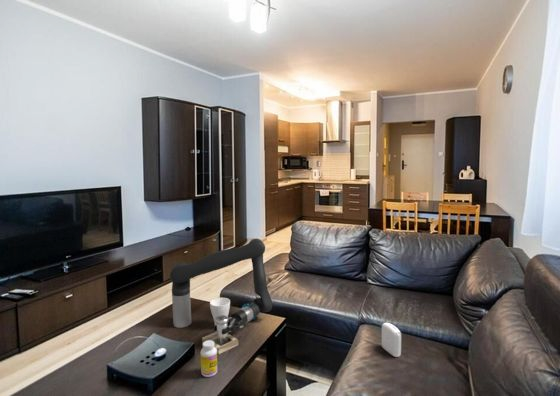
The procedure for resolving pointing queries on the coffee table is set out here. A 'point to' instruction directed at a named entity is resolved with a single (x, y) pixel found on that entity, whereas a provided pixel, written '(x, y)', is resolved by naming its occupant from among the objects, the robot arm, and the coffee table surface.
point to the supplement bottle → (208, 359)
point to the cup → (219, 307)
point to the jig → (220, 349)
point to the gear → (245, 306)
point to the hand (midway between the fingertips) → (218, 330)
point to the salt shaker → (221, 324)
